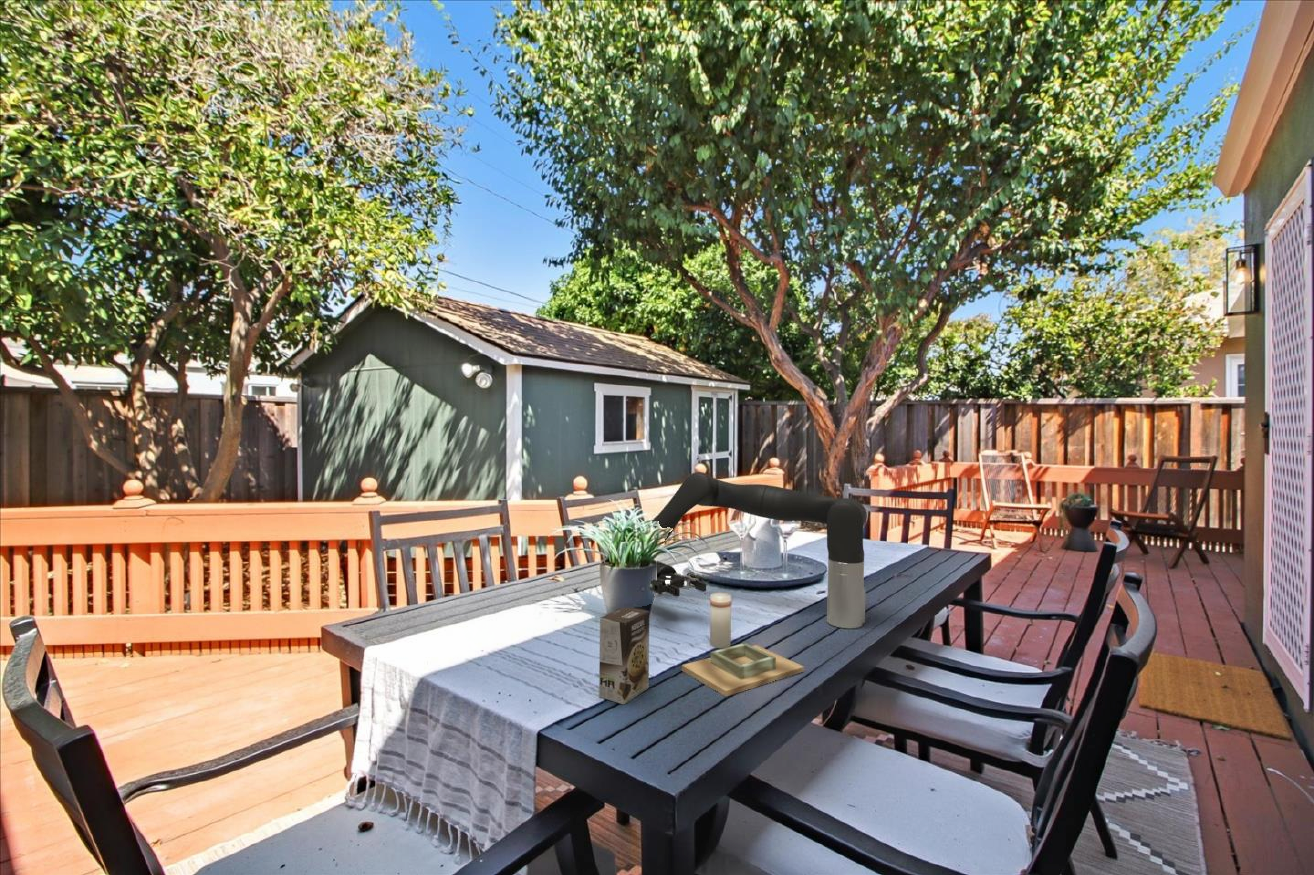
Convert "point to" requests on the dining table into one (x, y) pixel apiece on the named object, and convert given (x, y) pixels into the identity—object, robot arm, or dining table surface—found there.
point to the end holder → (740, 668)
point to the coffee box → (624, 654)
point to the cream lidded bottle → (720, 620)
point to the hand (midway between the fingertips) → (692, 590)
